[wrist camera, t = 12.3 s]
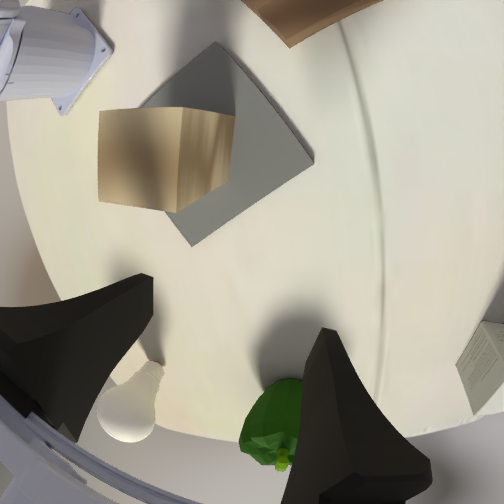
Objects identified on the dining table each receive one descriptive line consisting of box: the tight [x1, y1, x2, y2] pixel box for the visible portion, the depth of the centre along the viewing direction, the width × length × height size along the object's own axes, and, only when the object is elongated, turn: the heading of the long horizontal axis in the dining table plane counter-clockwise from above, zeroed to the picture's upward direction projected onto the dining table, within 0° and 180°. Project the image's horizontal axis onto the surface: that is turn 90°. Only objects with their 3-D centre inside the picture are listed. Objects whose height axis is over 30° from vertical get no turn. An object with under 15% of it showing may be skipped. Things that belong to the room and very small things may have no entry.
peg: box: [98, 107, 235, 213], centre depth 15 cm, size 4×4×8 cm
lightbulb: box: [97, 361, 164, 442], centre depth 25 cm, size 6×6×11 cm
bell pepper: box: [239, 379, 303, 471], centre depth 23 cm, size 8×8×10 cm
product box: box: [456, 321, 504, 416], centre depth 17 cm, size 6×6×7 cm
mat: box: [142, 42, 314, 247], centre depth 19 cm, size 11×11×1 cm
